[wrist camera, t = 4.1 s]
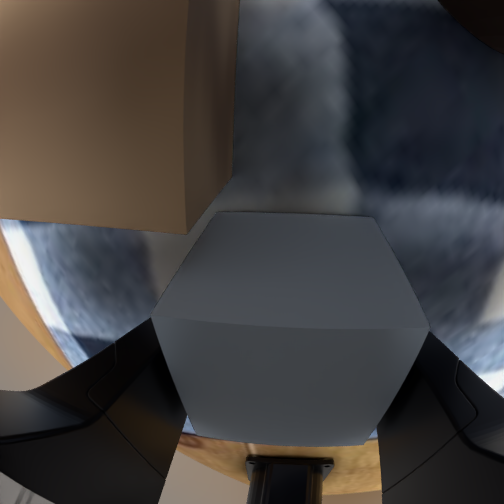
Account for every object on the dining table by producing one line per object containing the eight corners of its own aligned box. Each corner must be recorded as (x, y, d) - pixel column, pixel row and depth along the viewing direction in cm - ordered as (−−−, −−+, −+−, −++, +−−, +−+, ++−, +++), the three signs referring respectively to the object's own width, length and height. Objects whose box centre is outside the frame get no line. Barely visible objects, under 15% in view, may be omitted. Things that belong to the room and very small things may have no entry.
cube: (350, 333, 10) (363, 444, 6) (228, 327, 10) (196, 434, 7) (373, 217, 8) (431, 327, 4) (216, 211, 8) (149, 314, 4)
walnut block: (233, 175, 8) (187, 234, 5) (56, 174, 9) (-22, 217, 5) (244, -43, 5) (207, -117, 1) (57, 5, 5) (-23, -3, 2)
